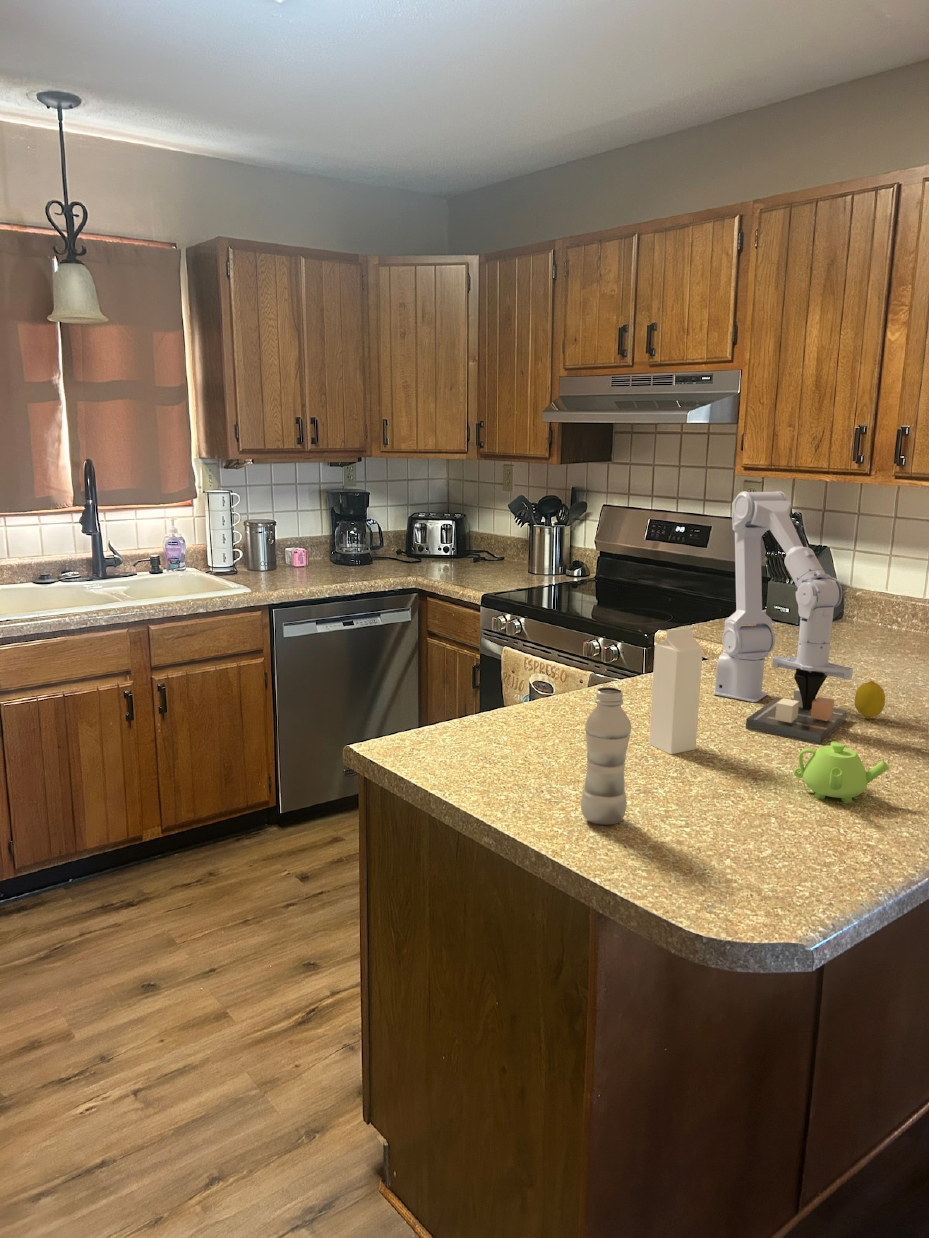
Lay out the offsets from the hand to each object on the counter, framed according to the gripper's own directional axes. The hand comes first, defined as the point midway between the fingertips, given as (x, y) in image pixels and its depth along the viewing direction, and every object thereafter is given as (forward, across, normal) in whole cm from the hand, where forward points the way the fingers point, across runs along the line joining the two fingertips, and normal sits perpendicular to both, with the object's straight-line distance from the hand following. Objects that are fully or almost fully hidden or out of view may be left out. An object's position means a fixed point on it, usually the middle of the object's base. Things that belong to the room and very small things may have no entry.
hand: (807, 708), depth 176 cm
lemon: (+4, +8, +12) cm, 16 cm away
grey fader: (+1, -2, +5) cm, 6 cm away
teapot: (+4, +14, -32) cm, 35 cm away
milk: (+4, -16, -28) cm, 32 cm away
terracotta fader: (+1, +3, 0) cm, 3 cm away
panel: (+4, -2, 0) cm, 4 cm away
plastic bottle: (+4, -11, -64) cm, 65 cm away
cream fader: (+1, -2, -5) cm, 6 cm away
